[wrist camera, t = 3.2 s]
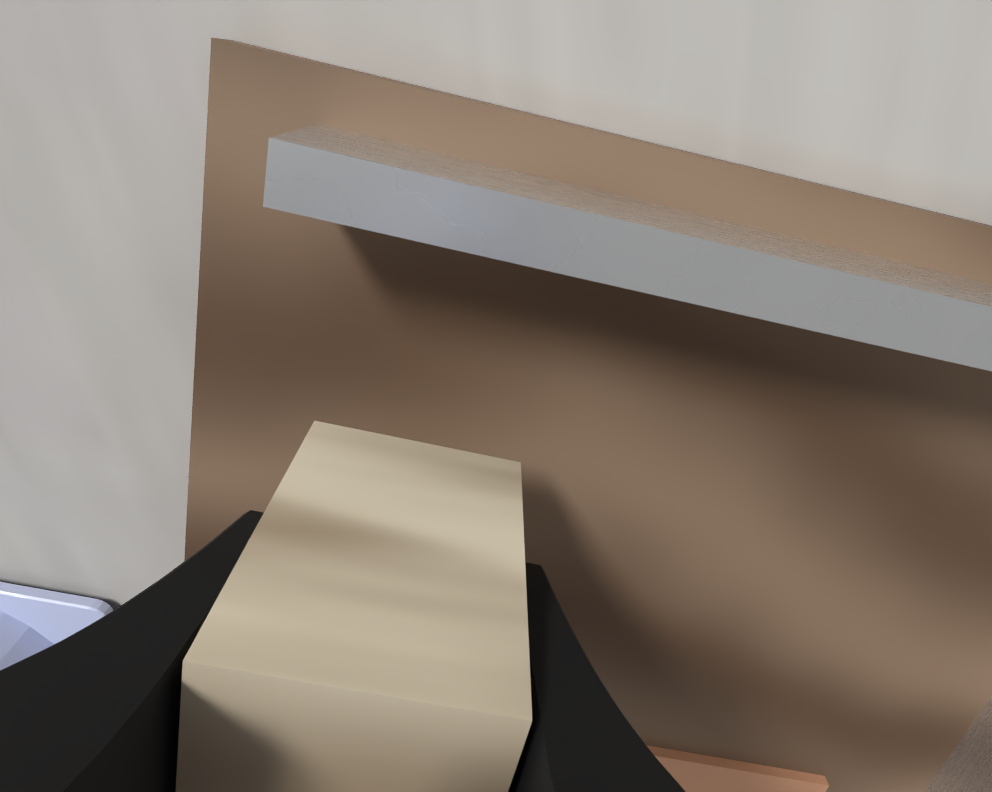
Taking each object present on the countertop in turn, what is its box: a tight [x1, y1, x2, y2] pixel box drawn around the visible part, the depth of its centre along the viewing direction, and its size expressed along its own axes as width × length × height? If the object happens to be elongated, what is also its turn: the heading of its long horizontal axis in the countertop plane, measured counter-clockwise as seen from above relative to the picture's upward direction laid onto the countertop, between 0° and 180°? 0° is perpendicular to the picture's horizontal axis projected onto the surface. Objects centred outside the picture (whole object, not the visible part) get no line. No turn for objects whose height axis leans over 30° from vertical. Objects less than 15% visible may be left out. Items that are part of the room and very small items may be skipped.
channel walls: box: [263, 124, 992, 792], centre depth 17 cm, size 21×20×3 cm
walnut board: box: [185, 38, 992, 792], centre depth 19 cm, size 24×24×1 cm
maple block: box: [176, 421, 532, 792], centre depth 12 cm, size 4×4×6 cm
